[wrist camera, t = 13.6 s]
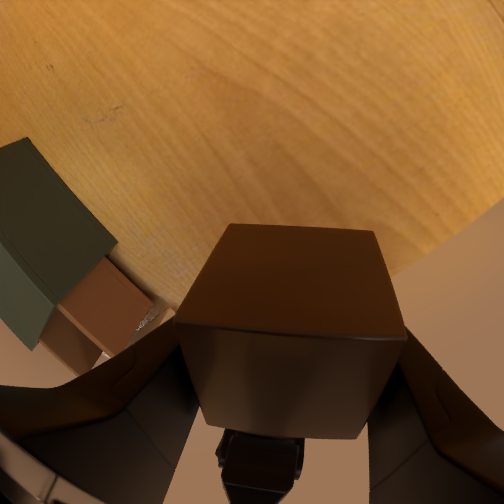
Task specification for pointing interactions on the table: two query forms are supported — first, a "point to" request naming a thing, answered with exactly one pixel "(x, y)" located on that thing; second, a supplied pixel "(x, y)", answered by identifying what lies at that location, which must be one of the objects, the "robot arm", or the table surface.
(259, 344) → the block
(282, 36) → the table surface
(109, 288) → the drawer
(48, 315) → the cabinet
